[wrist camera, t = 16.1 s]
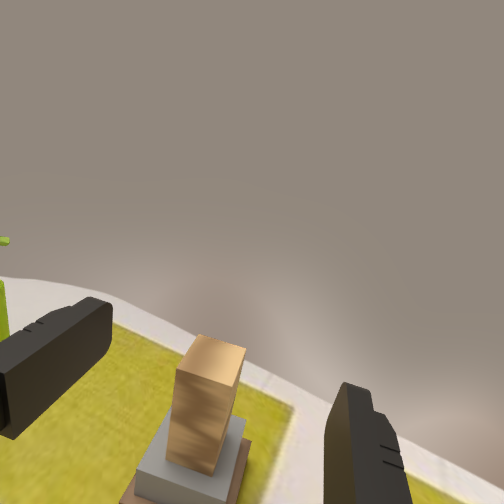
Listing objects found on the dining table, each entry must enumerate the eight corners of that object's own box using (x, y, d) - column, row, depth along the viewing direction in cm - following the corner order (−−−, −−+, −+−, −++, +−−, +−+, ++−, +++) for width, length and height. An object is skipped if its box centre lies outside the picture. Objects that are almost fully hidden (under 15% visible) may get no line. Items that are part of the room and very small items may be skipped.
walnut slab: (245, 461, 39) (251, 441, 38) (217, 570, 29) (224, 547, 28) (168, 432, 41) (172, 411, 39) (117, 525, 31) (118, 501, 29)
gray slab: (240, 442, 37) (246, 419, 36) (218, 526, 29) (225, 501, 28) (172, 419, 38) (176, 396, 37) (133, 494, 30) (136, 468, 29)
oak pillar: (226, 432, 34) (246, 348, 29) (212, 477, 29) (232, 386, 25) (186, 417, 35) (198, 333, 30) (165, 459, 30) (176, 368, 25)
